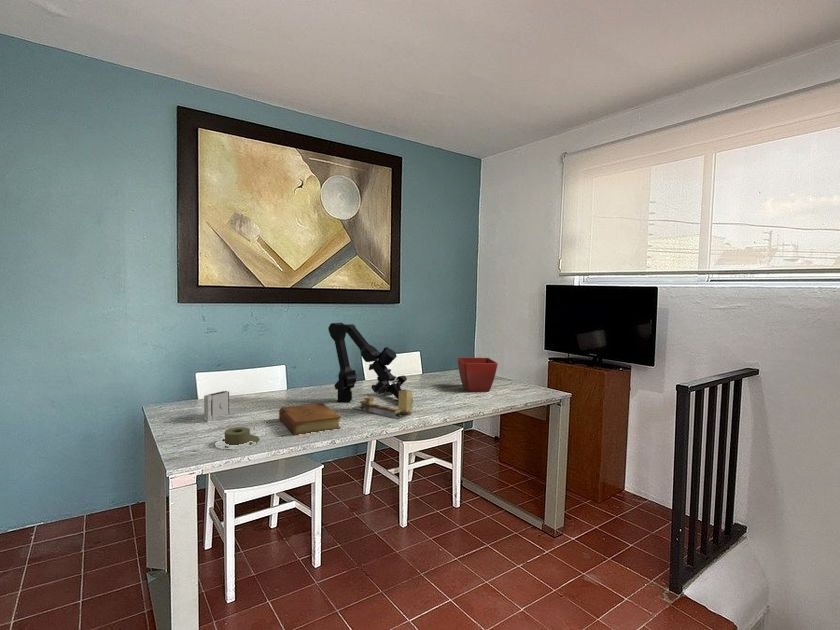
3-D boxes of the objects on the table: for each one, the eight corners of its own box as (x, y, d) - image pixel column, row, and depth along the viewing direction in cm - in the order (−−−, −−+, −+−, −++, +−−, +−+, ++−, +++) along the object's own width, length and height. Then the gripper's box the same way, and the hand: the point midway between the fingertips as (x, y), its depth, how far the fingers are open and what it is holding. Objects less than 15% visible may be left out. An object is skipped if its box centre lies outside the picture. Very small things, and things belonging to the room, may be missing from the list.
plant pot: (497, 393, 247) (498, 362, 246) (463, 393, 244) (464, 362, 243) (487, 385, 265) (488, 357, 264) (456, 385, 263) (456, 357, 262)
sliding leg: (391, 414, 196) (392, 393, 195) (404, 410, 204) (404, 389, 203) (399, 416, 193) (400, 394, 193) (411, 411, 201) (412, 390, 201)
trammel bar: (355, 407, 209) (355, 398, 209) (366, 404, 215) (366, 395, 215) (402, 418, 194) (402, 408, 194) (411, 414, 200) (412, 405, 200)
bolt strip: (352, 408, 207) (352, 407, 207) (362, 405, 213) (362, 404, 213) (398, 419, 192) (398, 417, 192) (408, 415, 198) (408, 414, 198)
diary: (279, 421, 188) (279, 407, 187) (322, 415, 197) (322, 403, 197) (293, 436, 168) (293, 421, 168) (340, 430, 177) (340, 415, 177)
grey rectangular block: (207, 423, 181) (207, 398, 181) (197, 421, 183) (196, 397, 182) (230, 413, 195) (230, 391, 194) (220, 412, 196) (220, 390, 195)
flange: (234, 422, 168) (204, 434, 154) (268, 427, 164) (240, 439, 150) (234, 434, 169) (204, 448, 154) (268, 439, 164) (240, 453, 150)
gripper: (384, 379, 218) (402, 404, 213) (359, 385, 203) (377, 413, 197) (398, 365, 214) (416, 391, 208) (373, 370, 198) (392, 398, 193)
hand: (400, 398), depth 202 cm, fingers closed
